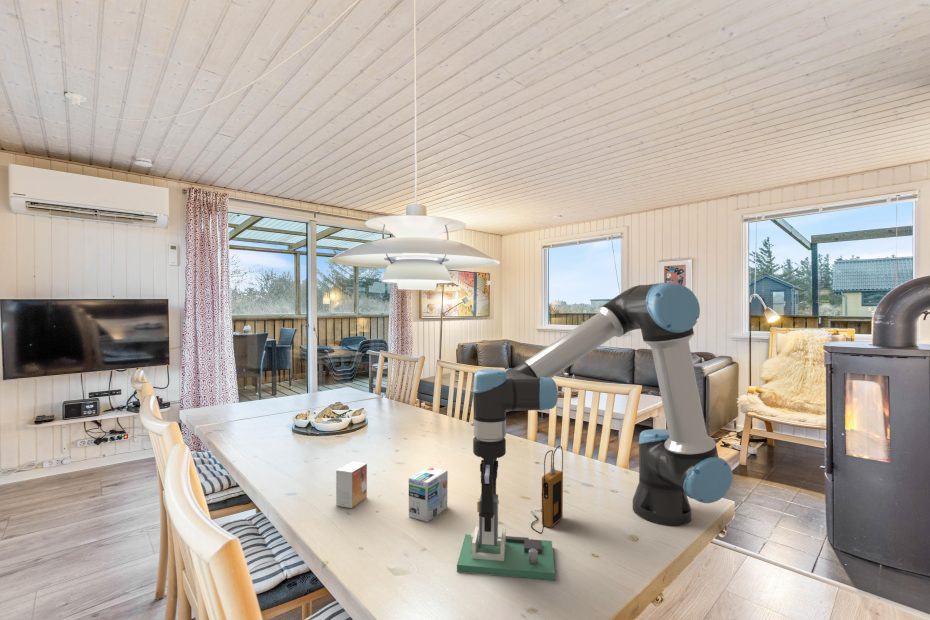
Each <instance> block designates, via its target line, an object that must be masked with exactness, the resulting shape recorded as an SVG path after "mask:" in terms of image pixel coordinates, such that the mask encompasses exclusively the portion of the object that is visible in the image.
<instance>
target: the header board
mask: <svg viewBox="0 0 930 620" xmlns="http://www.w3.org/2000/svg"><path fill="white" fill-rule="evenodd" d="M506 531H507V530H506V528H502V530H501V536H498V541H497V546H489V545H479V526H475V529H474V531H473V532H471V534H464V538H463V542H462V544H461V548H460V549H461V550H460V553H459V557H458V559H457V563H456V572H458V573H466V574H468V573H469V574H479V575H491V576H503V577H514V578H523V579H525V578H527V579H534V580H548V581H556V570H555V561H554V550H553V541H552V540H546V539H533V538H529V537H525V536H524V537H523V536H513V535H512V536H511V535H506V534H507V533H506Z"/></svg>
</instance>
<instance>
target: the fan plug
mask: <svg viewBox="0 0 930 620" xmlns="http://www.w3.org/2000/svg"><path fill="white" fill-rule="evenodd" d="M498 500H499V494H497V493H496V494H494V509H493V513H494V545H489V546H497V541H498V537H499V504H498ZM476 505H477V506H476V509H477V510H476V511H477V513H478V514H479V513H481V495H480V497H479V498H477V502H476ZM478 517H479V518H478V519H479V520H478V522H479V525H478V527H479V545H487V544H482V517H481V516H479V515H478Z"/></svg>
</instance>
